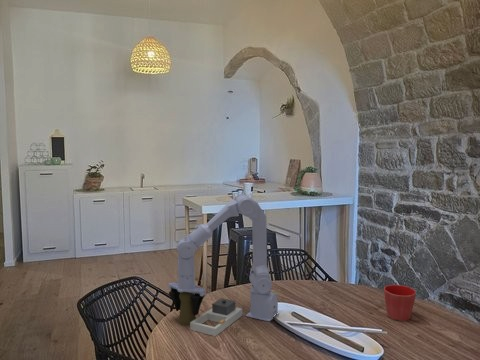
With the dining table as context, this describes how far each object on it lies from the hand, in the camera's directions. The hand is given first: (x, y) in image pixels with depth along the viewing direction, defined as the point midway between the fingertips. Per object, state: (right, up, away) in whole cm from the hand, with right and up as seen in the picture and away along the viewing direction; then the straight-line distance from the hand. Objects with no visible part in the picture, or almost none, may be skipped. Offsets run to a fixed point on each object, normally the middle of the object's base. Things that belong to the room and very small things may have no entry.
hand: (187, 312), depth 143 cm
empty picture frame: (+11, -3, 0) cm, 11 cm away
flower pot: (+75, -3, +3) cm, 75 cm away
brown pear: (0, -4, 0) cm, 4 cm away
